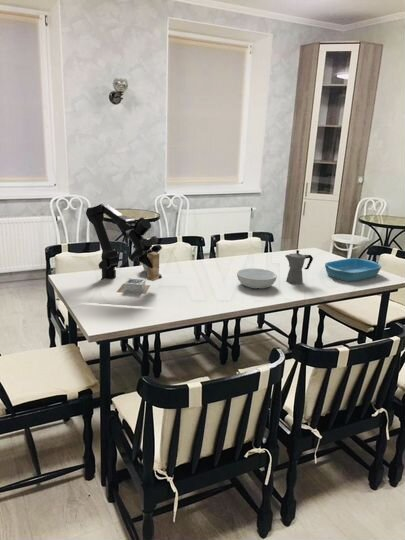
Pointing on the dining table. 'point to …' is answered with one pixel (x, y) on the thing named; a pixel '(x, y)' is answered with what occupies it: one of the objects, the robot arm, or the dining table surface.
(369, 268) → the casserole dish
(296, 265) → the coffeepot
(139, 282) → the steel end cap
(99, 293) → the dining table surface
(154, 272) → the oak block
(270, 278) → the serving bowl
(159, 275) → the grey napkin holder
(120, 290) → the walnut board
